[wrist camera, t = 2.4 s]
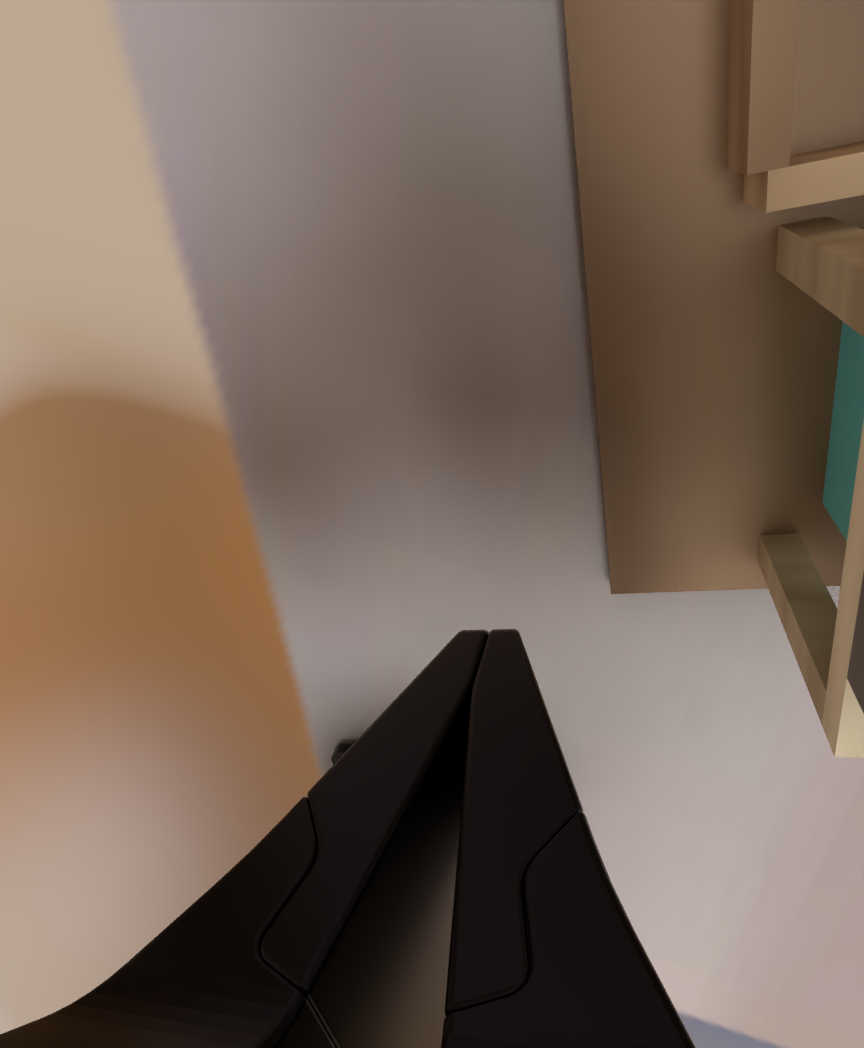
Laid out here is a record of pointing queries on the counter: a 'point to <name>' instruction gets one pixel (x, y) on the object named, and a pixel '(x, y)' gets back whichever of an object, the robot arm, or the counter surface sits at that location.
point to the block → (845, 429)
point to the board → (712, 273)
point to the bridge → (794, 583)
